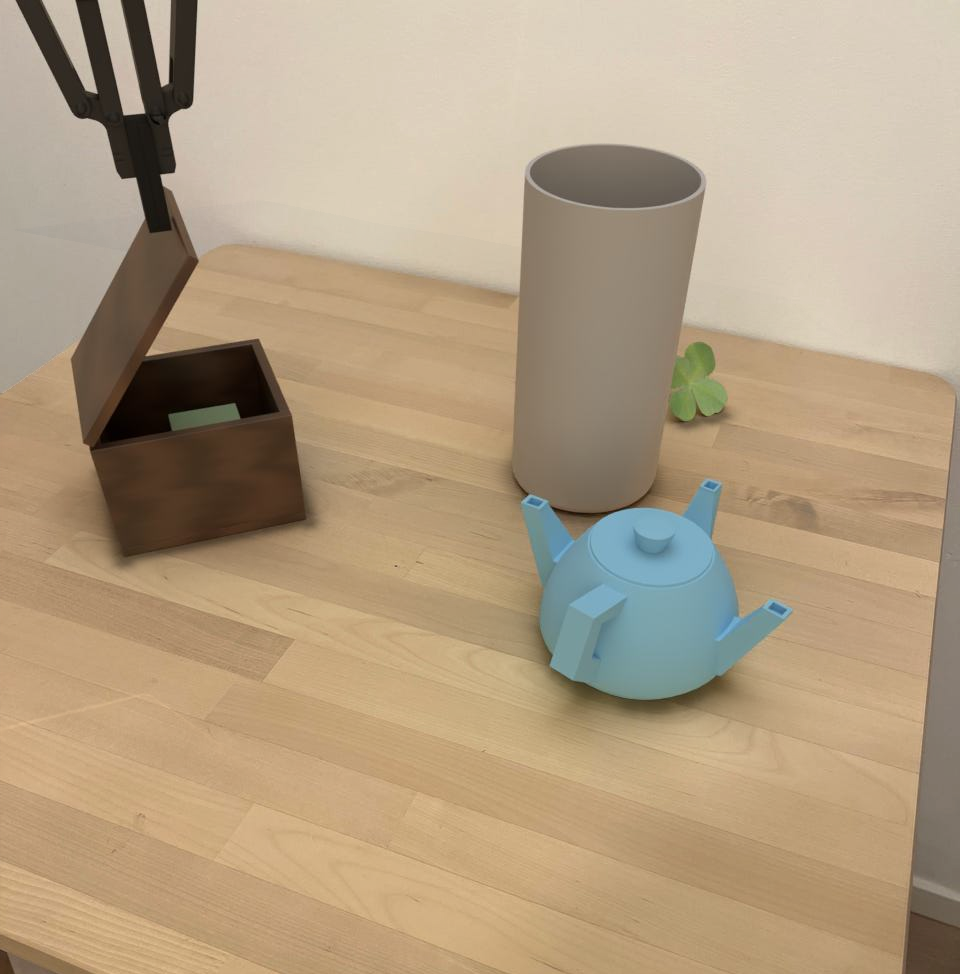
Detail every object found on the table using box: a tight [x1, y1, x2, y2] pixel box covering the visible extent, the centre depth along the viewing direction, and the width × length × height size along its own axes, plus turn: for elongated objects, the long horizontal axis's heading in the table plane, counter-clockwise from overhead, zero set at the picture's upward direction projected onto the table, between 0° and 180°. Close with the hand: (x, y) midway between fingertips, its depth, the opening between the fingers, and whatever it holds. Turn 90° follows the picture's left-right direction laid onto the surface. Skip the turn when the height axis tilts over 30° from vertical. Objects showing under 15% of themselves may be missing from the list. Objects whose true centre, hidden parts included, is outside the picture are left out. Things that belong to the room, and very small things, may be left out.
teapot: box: [520, 477, 794, 701], centre depth 66 cm, size 15×15×11 cm
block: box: [168, 403, 241, 431], centre depth 80 cm, size 6×6×6 cm
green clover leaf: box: [668, 341, 728, 422], centre depth 93 cm, size 7×8×6 cm
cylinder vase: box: [511, 143, 707, 514], centre depth 76 cm, size 12×12×25 cm
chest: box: [88, 338, 307, 557], centre depth 78 cm, size 15×13×10 cm
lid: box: [70, 185, 200, 447], centre depth 69 cm, size 16×13×1 cm
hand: (158, 223), depth 66 cm, fingers closed
